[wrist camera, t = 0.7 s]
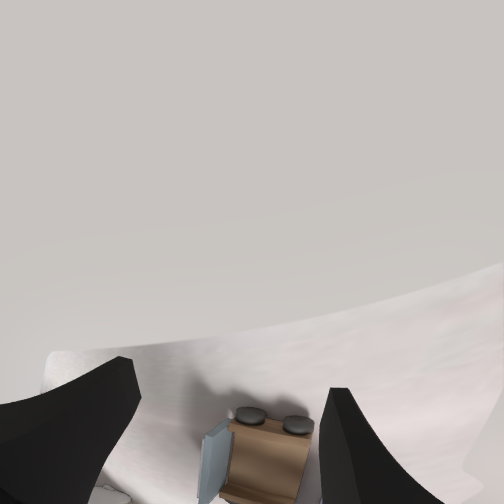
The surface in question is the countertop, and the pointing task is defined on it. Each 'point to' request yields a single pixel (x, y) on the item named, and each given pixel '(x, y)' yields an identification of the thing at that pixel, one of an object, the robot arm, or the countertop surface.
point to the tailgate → (214, 462)
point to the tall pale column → (108, 496)
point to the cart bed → (266, 458)
